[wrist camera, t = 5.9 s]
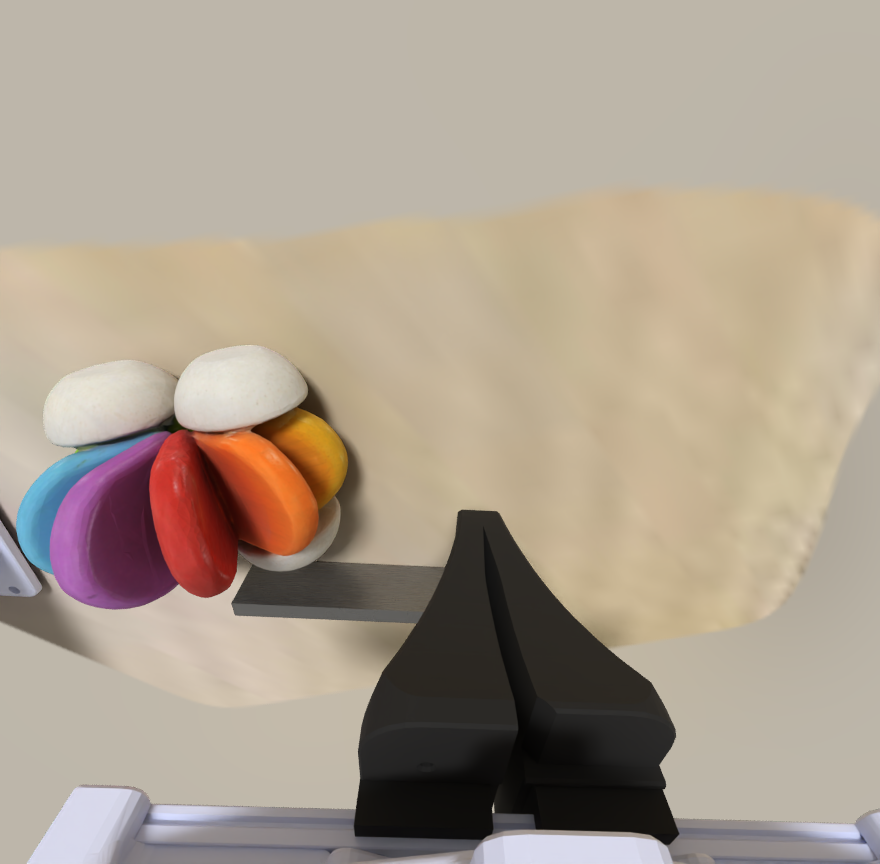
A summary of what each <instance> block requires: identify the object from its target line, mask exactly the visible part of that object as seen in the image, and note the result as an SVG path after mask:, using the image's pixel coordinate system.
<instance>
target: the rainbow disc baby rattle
mask: <svg viewBox="0 0 880 864" xmlns="http://www.w3.org/2000/svg"><path fill="white" fill-rule="evenodd" d="M307 394H308V387H307V384H306V382H305V380H304V378H303V377H302V375H301V373H300V372H299V371H298V370H297V368H296V367H295V366H294V365H293V364H292V363H291V362H290V361H289V360H288V359H286V358H285V357H284V356H282V355H281V354H279V353H277V352H275V351H273V350H271V349H269V348H266V347H263V346H258V345H240V346H233V347H227V348H223V349H218V350H215V351H211V352H208V353H206V354H203V355H201V356H199V357H197V358H196V359H194V360H193V361H192V362H191V363H190V364H189V365H188V367H187V368H186V369H185V371H184V372H183V373H182V375H181V377H180V379H179V381H178V380H177V379H176V378H175V377H174V376H173V375H171V374H170V373H168V372H167V371H165V370H163V369H161V368H159V367H157V366H154V365H152V364H149V363H145V362H141V361H137V360H119V361H113V362H108V363H103V364H99V365H95V366H90V367H87V368H84V369H81V370H78V371H75V372H73V373H70V374H68V375H66V376H65V377H63V378H62V379H61V380H60V381H59V382H58V383H57V384H56V385H55V386H54V388H53V389H52V391H51V392H50V394H49V395H48V397H47V400H46V402H45V406H44V410H43V425H44V430H45V433H46V436H47V438H48V440H49V441H50V442H51V443H52V444H55V445H57V446H61V447H74V448H76V449H77V451H76V452H75V453H74V454H71V455H69V456H67V457H65V458H63V459H61V460H60V461H58V462H56V463H55V464H53V465H52V466H51V467H49V468H48V469H47V470H46V471H45V472H44V473H43V474H42V475H41V476H40V477H39V478H38V479H37V480H36V481H35V482H34V483H33V485H32V486H31V487H30V489H29V490H28V492H27V493H26V495H25V497H24V498H23V500H22V503H21V505H20V508H19V511H18V514H17V522H16V531H17V536H18V541H19V544H20V546H21V548H22V551H23V552H24V554H25V556H26V557H27V558H28V560H29V561H30V562H31V563H32V564H34V565H35V566H36V567H38V568H40V569H41V570H43V571H45V572H48V573H50V574H53V575H54V576H55V578H56V580H57V582H58V584H59V586H60V587H61V589H62V590H63V591H64V592H65V593H66V594H68V595H69V596H71V597H73V598H74V599H76V600H78V601H80V602H82V603H84V604H87V605H90V606H94V607H98V608H105V609H128V608H134V607H139V606H142V605H145V604H148V603H150V602H152V601H154V600H157V599H158V598H160V597H162V596H164V595H166V594H167V593H168V592H170V591H171V590H173V589H174V588H175V587H176V586H177V585H178V584H180V586H182V587H183V588H184V589H185V590H187V591H188V592H189V593H191V594H194V595H196V596H199V597H204V598H208V597H213V596H216V595H218V594H220V593H222V592H223V591H225V590H227V589H228V588H229V587H230V586H231V584H232V582H233V579H234V577H235V574H236V572H237V557H238V551H239V553H240V554H241V555H242V556H243V557H244V558H245V559H246V560H247V561H249V562H250V563H252V564H254V565H255V566H257V567H260V568H263V569H266V570H270V571H291V570H295V569H298V568H302V567H304V566H306V565H308V564H310V563H312V562H314V561H315V560H316V559H318V558H319V557H320V556H321V555H323V554H324V553H325V551H326V550H327V549H328V548H329V547H330V545H331V544H332V542H333V540H334V539H335V537H336V534H337V532H338V529H339V524H340V517H341V509H340V504H339V502H338V500H337V498H336V497H335V494H336V493H337V492H338V491H339V489H340V488H341V486H342V484H343V482H344V479H345V476H346V473H347V468H348V458H347V452H346V449H345V447H344V445H343V443H342V441H341V439H340V438H339V436H338V435H337V434H336V432H335V431H334V430H333V429H332V428H331V427H330V426H329V425H328V424H327V423H326V422H325V421H324V420H323V419H321V418H319V417H317V416H316V415H314V414H312V413H310V412H307V411H305V410H303V409H300V408H298V407H297V406H298V405H299V404H301V403H302V402H303V401H304V399H305V398H306V396H307Z"/></svg>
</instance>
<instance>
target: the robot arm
mask: <svg viewBox="0 0 880 864" xmlns="http://www.w3.org/2000/svg"><path fill="white" fill-rule="evenodd" d="M41 590H42V585H41V583H40V582H39V580H38V579H37V577H36V575H35V574H34V572H33V571H32V569H31V568H30V566H29V564H28V563H27V561H26V560H25V558H24V556H23V555H22V553H21V552H20V550H19V549H18V547H17V545H16V544H15V542H14V541H13V539H12V537H11V536H10V534H9V533H8V531H7V530H6V528H5V526H4V525H3V523H2V522H1V520H0V595H1V596H24V597H31V596H35V595H36V594H37V593H39V592H40V591H41ZM675 738H676V733H675V728H674V725H673V723H672V721H671V719H670V717H669V714H668V712H667V710H666V708H665V706H664V704H663V702H662V700H661V699H660V697H659V695H658V694H657V692H656V690H655V688H654V687H653V685H652V683H651V682H650V681H648V680H647V679H646V678H644V677H643V676H642V675H641V674H639V673H638V672H637V671H635V670H634V669H633V668H631V667H630V666H629V665H627V664H626V663H625V662H623V661H622V660H621V659H620V658H618V657H617V656H616V655H615V654H614V653H612V652H611V651H610V650H609V649H608V648H606V647H605V646H604V645H603V644H602V643H601V642H599V641H598V640H597V639H596V638H595V637H594V636H593V635H592V634H591V633H590V632H589V631H588V630H587V629H586V628H585V627H584V626H583V625H582V624H580V623H579V622H578V621H577V620H576V619H575V618H574V617H573V616H572V615H571V613H570V612H569V611H568V610H567V609H566V608H565V607H564V606H563V605H562V604H561V603H560V602H559V600H558V599H557V598H556V597H555V596H554V595H553V594H552V592H551V591H550V590H549V589H548V587H547V586H546V585H545V584H544V582H543V581H542V580H541V579H540V577H539V576H538V575H537V573H536V572H535V571H534V569H533V568H532V566H531V565H530V564H529V562H528V561H527V559H526V558H525V556H524V555H523V553H522V552H521V550H520V549H519V547H518V545H517V544H516V542H515V541H514V539H513V537H512V536H511V534H510V532H509V530H508V529H507V527H506V525H505V523H504V521H503V519H502V518H501V515H500V514H499V513H498V512H497V511H477V510H461V511H459V512H458V517H457V526H456V536H455V540H454V544H453V547H452V550H451V554H450V556H449V559H448V562H447V564H446V567H445V569H444V572H443V575H442V577H441V579H440V581H439V584H438V586H437V588H436V590H435V592H434V594H433V596H432V598H431V600H430V602H429V603H428V605H427V607H426V609H425V611H424V613H423V614H422V616H421V618H420V619H419V621H418V623H417V624H416V626H415V627H414V629H413V630H412V632H411V633H410V635H409V636H408V638H407V639H406V641H405V642H404V644H403V645H402V647H401V648H400V650H399V651H398V652H397V653H396V655H395V656H394V657H393V659H392V660H391V661H390V663H389V664H388V665H387V667H386V668H385V669H384V671H383V672H382V674H381V677H380V679H379V681H378V683H377V685H376V687H375V690H374V692H373V694H372V696H371V699H370V702H369V704H368V706H367V709H366V712H365V715H364V719H363V723H362V727H361V734H360V741H359V748H358V757H359V767H360V768H359V769H360V785H359V791H358V798H357V805H356V809H355V810H354V809H320V808H284V807H281V808H280V807H249V806H248V807H247V806H212V805H178V804H151V803H150V800H149V797H148V795H147V794H146V793H145V792H144V791H143V790H141V789H138V788H135V787H129V786H108V785H107V786H106V785H105V786H104V785H80V786H78V787H76V788H75V789H74V790H73V792H72V793H71V795H70V796H69V798H68V799H67V801H66V803H65V804H64V806H63V807H62V809H61V810H60V812H59V814H58V815H57V817H56V818H55V820H54V822H53V823H52V824H51V826H50V828H49V829H48V831H47V833H46V834H45V835H44V837H43V839H42V840H41V842H40V843H39V845H38V846H37V848H36V849H35V851H34V853H33V854H32V856H31V857H30V859H29V860H28V862H27V864H880V809H876V810H872V811H869V812H867V813H865V814H863V815H862V816H860V817H859V818H858V819H857V820H856V823H817V822H783V821H748V820H712V819H677V818H673V816H672V813H671V810H670V808H669V805H668V803H667V800H666V797H665V795H664V792H663V790H662V789H665V787H666V781H665V779H664V777H663V774H662V772H661V769H660V766H659V764H660V763H661V762H662V760H663V759H664V757H665V756H666V754H667V753H668V752H669V750H670V749H671V747H672V745H673V743H674V740H675ZM493 803H494V809H495V813H492V806H493Z"/></svg>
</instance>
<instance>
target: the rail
mask: <svg viewBox="0 0 880 864" xmlns="http://www.w3.org/2000/svg"><path fill="white" fill-rule="evenodd" d="M444 569H445V568H440V567H418V566H397V565H375V564H354V563H332V562H312V563H310V564H308V565H306V566H304V567H302V568H298V569H295V570H291V571H270V570H266V569H263V568H260V567H257V566H255V565H254V564H253V565H252V567H251V568H250V570H249V572H248V574H247V576H246V578H245V579H244V581H243V583H242V585H241V587H240V589H239V590H238V592H237V594H236V596H235V598H234V600H233V601H232V603H231V604H232V607H233V610H234V614H235V615H237V616H260V617H283V618H306V619H329V620H352V621H375V622H398V623H418V621H419V619H420V618H421V616H422V614H423V613H424V611H425V609H426V607H427V605H428V603H429V602H430V600H431V598H432V596H433V594H434V592H435V590H436V588H437V586H438V584H439V581H440V579H441V577H442V575H443V572H444Z"/></svg>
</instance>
